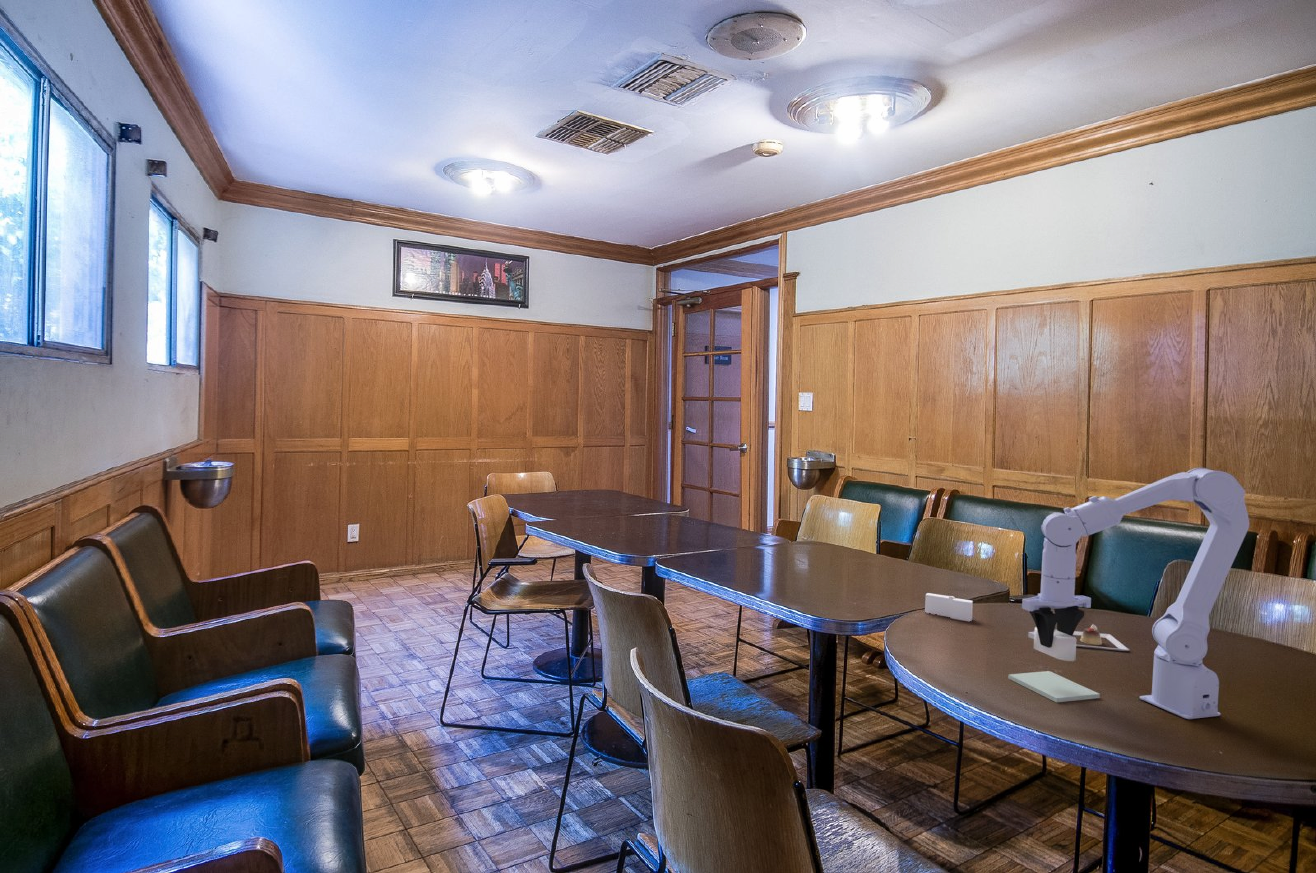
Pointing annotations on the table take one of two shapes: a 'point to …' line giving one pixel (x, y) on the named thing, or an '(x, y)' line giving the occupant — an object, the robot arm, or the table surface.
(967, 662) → the table surface
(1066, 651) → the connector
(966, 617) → the white upright tiles
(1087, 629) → the dessert
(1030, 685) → the sage pad
